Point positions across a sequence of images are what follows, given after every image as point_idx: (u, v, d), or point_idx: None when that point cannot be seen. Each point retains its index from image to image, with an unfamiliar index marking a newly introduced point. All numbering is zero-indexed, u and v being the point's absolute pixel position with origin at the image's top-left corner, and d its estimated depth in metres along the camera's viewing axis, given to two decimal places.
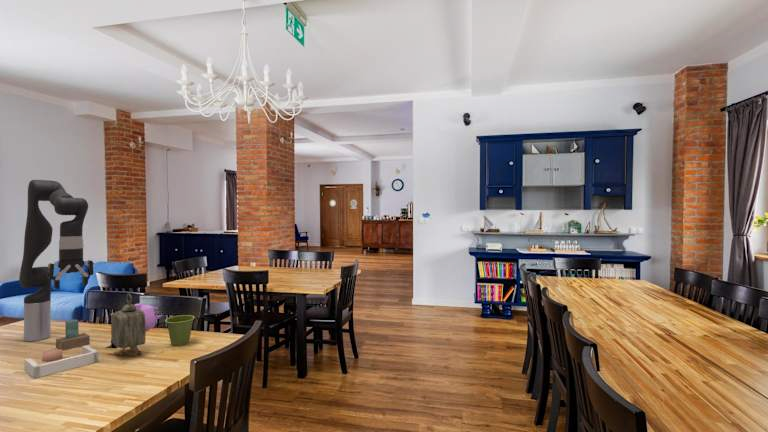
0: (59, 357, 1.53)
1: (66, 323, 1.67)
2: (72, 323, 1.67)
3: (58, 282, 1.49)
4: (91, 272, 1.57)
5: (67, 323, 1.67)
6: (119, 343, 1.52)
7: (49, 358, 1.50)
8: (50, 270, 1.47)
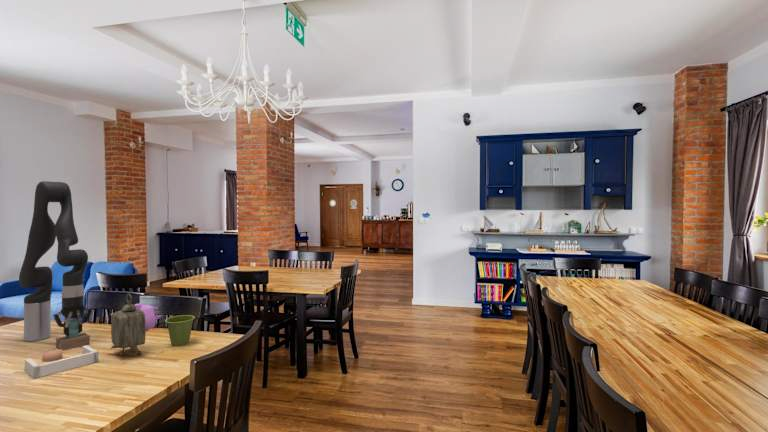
0: (59, 357, 1.53)
1: None
2: (72, 323, 1.67)
3: (67, 329, 1.66)
4: (85, 320, 1.71)
5: None
6: (119, 343, 1.52)
7: (50, 358, 1.50)
8: (57, 320, 1.63)
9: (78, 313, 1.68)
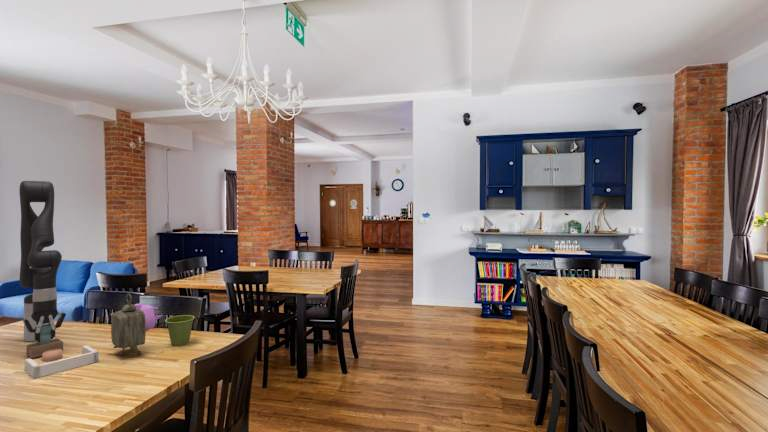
0: (59, 357, 1.53)
1: None
2: (44, 328, 1.58)
3: (39, 335, 1.56)
4: (58, 325, 1.61)
5: None
6: (119, 343, 1.52)
7: (50, 358, 1.50)
8: (27, 325, 1.53)
9: (50, 318, 1.58)
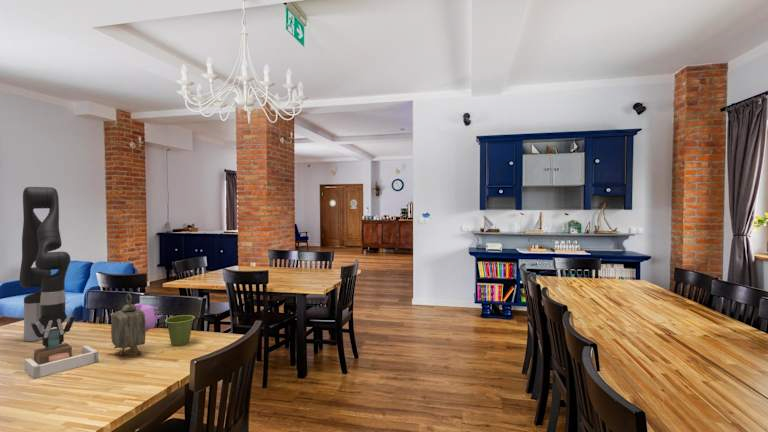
0: None
1: None
2: (52, 333, 1.52)
3: (47, 339, 1.50)
4: (67, 329, 1.55)
5: None
6: (119, 343, 1.52)
7: None
8: (35, 330, 1.47)
9: (59, 322, 1.52)
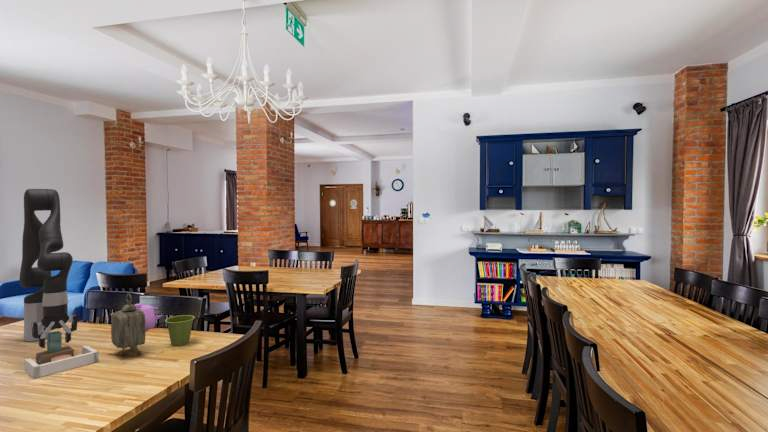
0: None
1: (48, 335, 1.50)
2: (54, 335, 1.50)
3: (43, 340, 1.47)
4: (74, 328, 1.55)
5: (49, 335, 1.50)
6: (119, 343, 1.52)
7: None
8: (34, 329, 1.45)
9: (62, 323, 1.51)
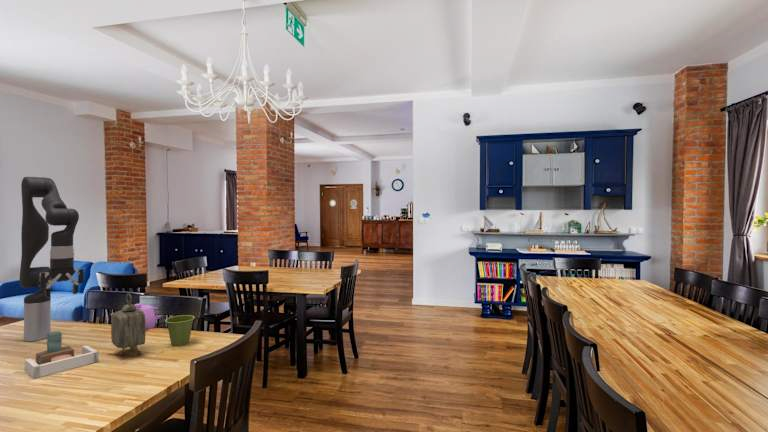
0: None
1: (48, 335, 1.50)
2: (54, 335, 1.50)
3: (49, 290, 1.54)
4: (81, 280, 1.63)
5: (49, 335, 1.50)
6: (119, 343, 1.52)
7: None
8: (41, 279, 1.52)
9: (68, 275, 1.58)
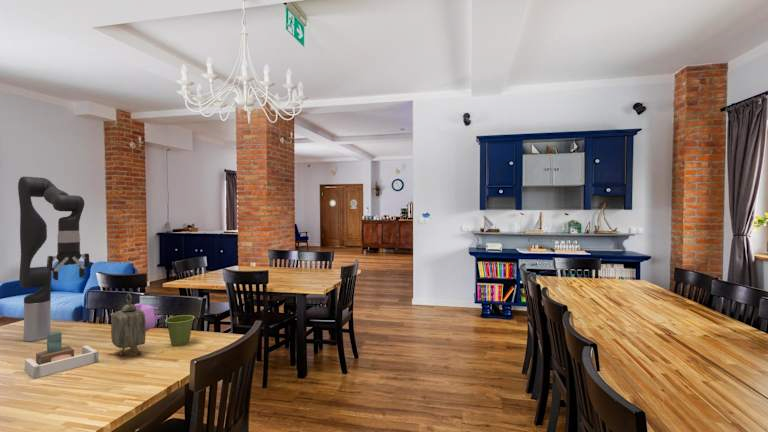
0: None
1: (48, 335, 1.50)
2: (54, 335, 1.50)
3: (57, 273, 1.61)
4: (87, 264, 1.70)
5: (49, 335, 1.50)
6: (119, 343, 1.52)
7: None
8: (49, 262, 1.59)
9: (75, 259, 1.65)
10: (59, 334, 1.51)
